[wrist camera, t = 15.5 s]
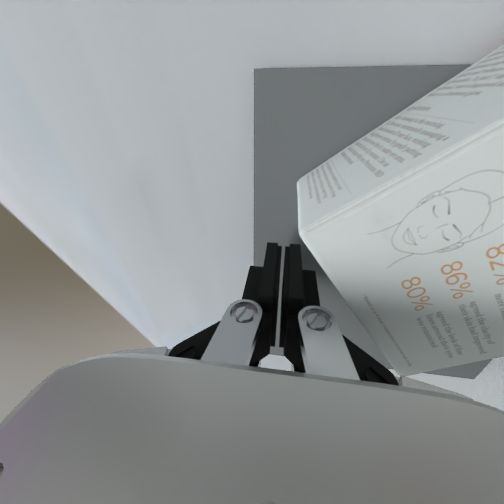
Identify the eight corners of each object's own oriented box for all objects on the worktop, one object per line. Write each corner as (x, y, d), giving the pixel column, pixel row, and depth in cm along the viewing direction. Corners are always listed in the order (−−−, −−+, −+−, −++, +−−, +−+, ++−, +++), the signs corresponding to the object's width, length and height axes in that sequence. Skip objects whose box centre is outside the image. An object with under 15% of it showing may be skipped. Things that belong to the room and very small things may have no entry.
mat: (256, 70, 10) (254, 68, 9) (734, 61, 8) (765, 58, 7) (254, 345, 19) (253, 352, 19) (468, 371, 18) (473, 379, 17)
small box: (364, 290, 14) (617, 194, 10) (398, 383, 10) (913, 280, 5) (293, 178, 11) (606, -29, 7) (292, 232, 7) (1255, -296, 2)
